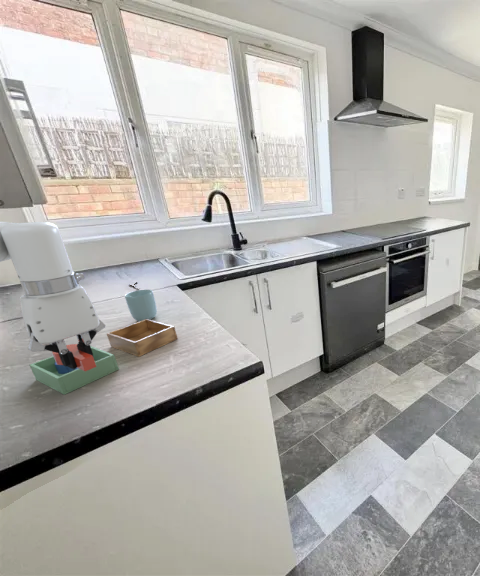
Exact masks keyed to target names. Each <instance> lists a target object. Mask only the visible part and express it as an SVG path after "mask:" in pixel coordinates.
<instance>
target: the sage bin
mask: <svg viewBox="0 0 480 576" xmlns="http://www.w3.org/2000/svg"><path fill="white" fill-rule="evenodd" d="M90 347H91V350H92V353H93V358H94V361H95V364H96V367H95V368H92V369H90V370H87V371H83V370H81V369H76V370H74V371H72V372H69V373H66V374H59V373H58V371H57V369H56V367H55V364H54V363H55V359H54V356H53V355H51V356H49V357H46V358H44V359H42V360H39V361H35V362H33V363H31V364H29V368H30V370H31V372H32V374H33V376H34V378H35V380H36V382H37V381H38V382H39V383H41V384H42V385H45V386H47V387H49V388H50V389H52V390H54V391H56V392H58V393H60V394H62V395H67V394H69V393H72V392H73V391H75V390H78V389H80V388H82V387H84V386H86V385H88V384H89V385H90V384H91V383H93V382H95V381H97V380H99V379H102V378H103V377H106V376H109V375H110V374H112V373H114V372H117V371H119V370H120V367H119V365H118V362H117V359H116V355H115V354H113V353H111V352H109V351H106V350H103V349H100V348H97V347H94V346H92V345H90Z"/></svg>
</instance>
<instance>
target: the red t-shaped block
mask: <svg viewBox="0 0 480 576" xmlns="http://www.w3.org/2000/svg"><path fill="white" fill-rule="evenodd" d="M77 344H78V343H72V344H66V347H67V349H68V350H69V351H71V352H72V353H73V356H74V359H75V362H76V365H77V368H79V369H81V370H83V371H87V370H90V369H92V368H95V367H96V364H95V361H94V358H93V356H92V355H90V354H87V353H85V352H82V351H80V350H78V348H77ZM51 353H52V356H54V359H55V362H56V364H57V365H63V364H62V362H61V359H60V356H59V354H58V353H56V352H52V351H51Z"/></svg>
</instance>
